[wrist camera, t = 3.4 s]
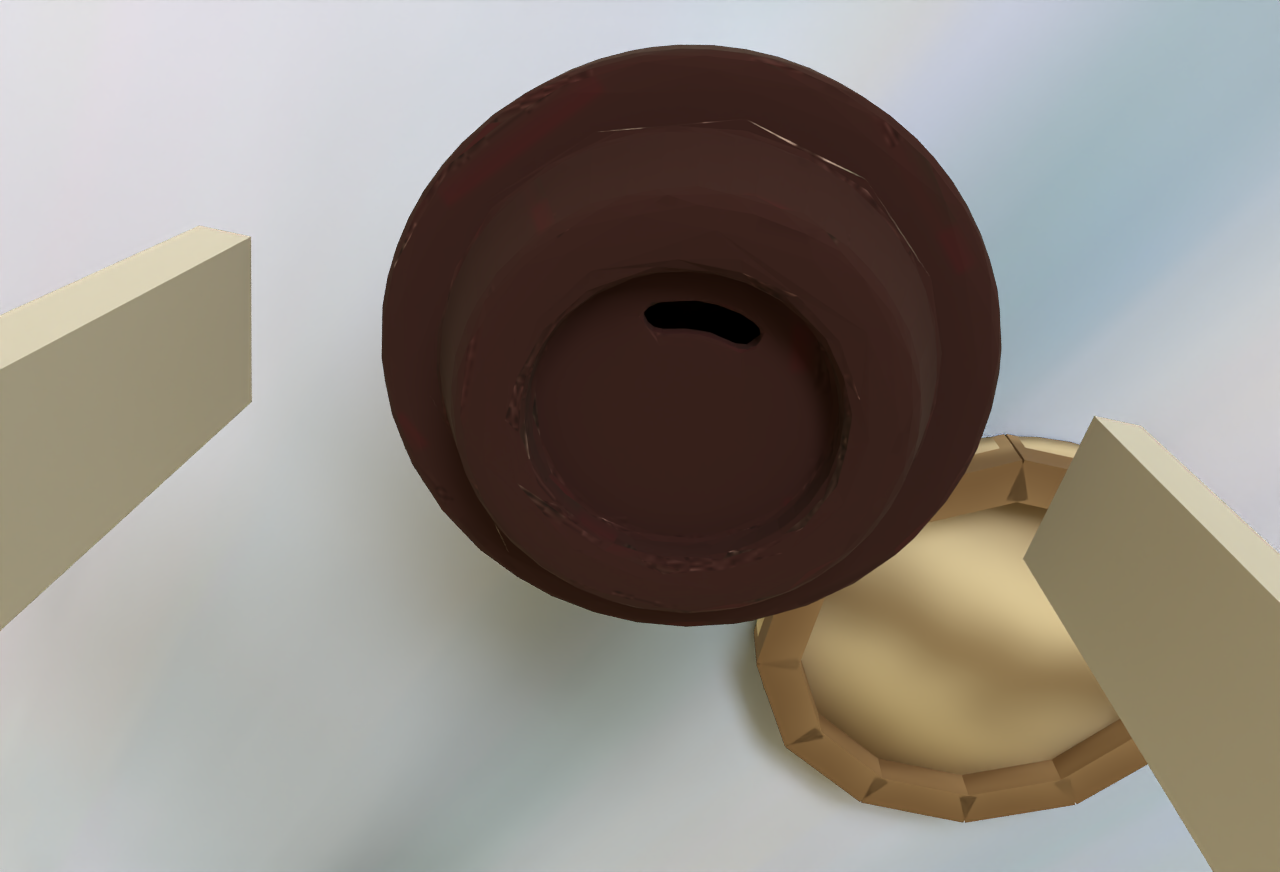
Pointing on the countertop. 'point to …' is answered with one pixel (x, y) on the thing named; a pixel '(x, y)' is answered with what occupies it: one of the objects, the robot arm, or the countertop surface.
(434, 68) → the countertop surface
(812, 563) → the coffee cup
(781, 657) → the round tray
